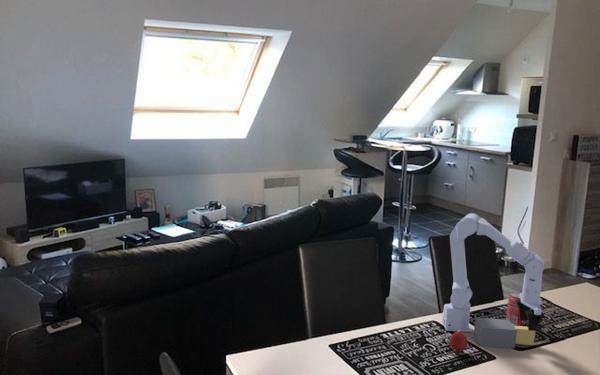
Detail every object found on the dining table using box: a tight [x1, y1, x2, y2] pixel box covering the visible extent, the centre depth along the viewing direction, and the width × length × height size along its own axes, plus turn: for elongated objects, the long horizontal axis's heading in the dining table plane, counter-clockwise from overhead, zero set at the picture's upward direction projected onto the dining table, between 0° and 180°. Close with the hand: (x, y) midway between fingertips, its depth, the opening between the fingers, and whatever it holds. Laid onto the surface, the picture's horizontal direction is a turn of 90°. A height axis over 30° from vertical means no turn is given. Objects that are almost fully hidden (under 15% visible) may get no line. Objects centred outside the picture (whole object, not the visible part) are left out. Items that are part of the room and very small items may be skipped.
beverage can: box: [505, 292, 525, 326], centre depth 186 cm, size 6×6×12 cm
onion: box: [449, 330, 468, 353], centre depth 164 cm, size 6×6×8 cm
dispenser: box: [473, 317, 517, 349], centre depth 172 cm, size 12×8×7 cm, turn 86°
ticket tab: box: [515, 325, 536, 346], centre depth 172 cm, size 16×2×6 cm, turn 86°
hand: (527, 325), depth 171 cm, fingers open, 7 cm apart
